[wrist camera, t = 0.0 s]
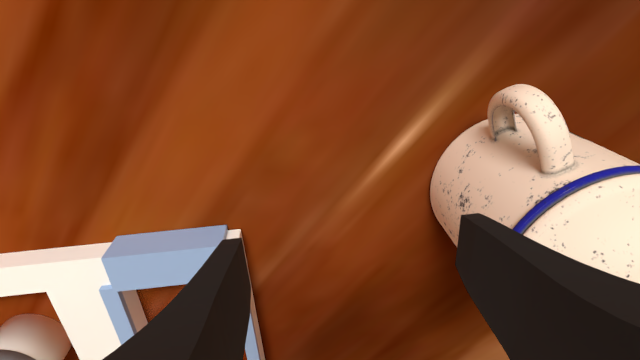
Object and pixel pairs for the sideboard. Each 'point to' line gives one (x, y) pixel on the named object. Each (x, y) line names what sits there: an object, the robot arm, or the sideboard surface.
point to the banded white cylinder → (33, 338)
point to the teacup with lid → (542, 183)
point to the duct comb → (115, 283)
